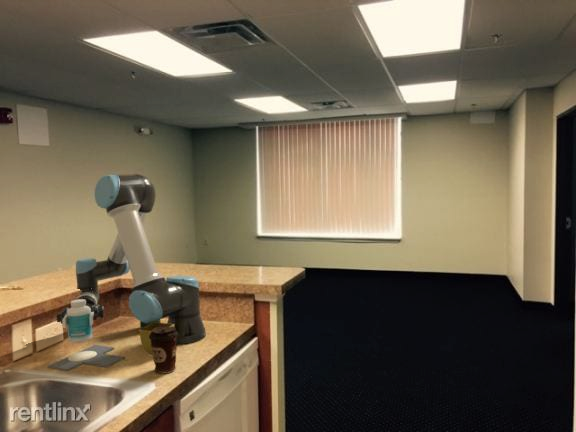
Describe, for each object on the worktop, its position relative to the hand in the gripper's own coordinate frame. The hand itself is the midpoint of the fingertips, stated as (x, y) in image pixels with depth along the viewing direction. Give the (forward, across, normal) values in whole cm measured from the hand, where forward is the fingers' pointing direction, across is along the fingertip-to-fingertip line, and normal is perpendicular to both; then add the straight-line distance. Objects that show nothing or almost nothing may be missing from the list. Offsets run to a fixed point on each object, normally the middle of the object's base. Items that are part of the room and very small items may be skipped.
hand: (77, 322), depth 152 cm
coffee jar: (-28, -23, -14) cm, 39 cm away
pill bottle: (-5, 0, -8) cm, 9 cm away
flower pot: (0, -25, -14) cm, 28 cm away
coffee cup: (+17, -26, -13) cm, 34 cm away
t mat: (-1, -4, -14) cm, 14 cm away
